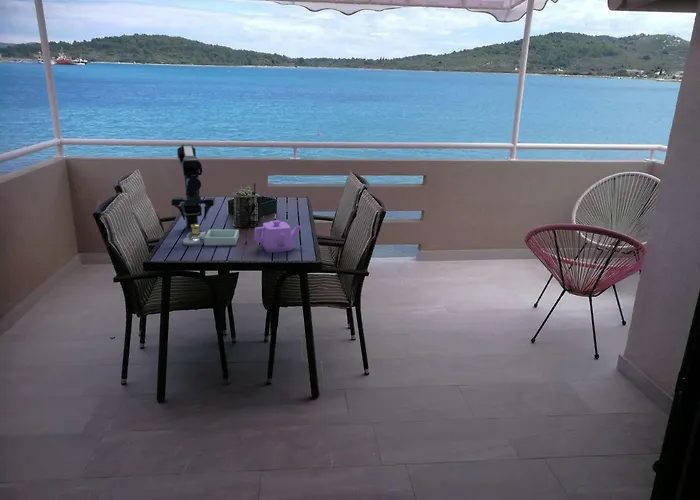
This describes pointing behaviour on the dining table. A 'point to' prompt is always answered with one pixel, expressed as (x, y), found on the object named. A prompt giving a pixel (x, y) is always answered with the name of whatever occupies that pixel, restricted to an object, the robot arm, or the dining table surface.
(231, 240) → the parts tray
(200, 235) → the tensioner bracket
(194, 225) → the pin
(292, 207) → the dining table surface
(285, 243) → the teakettle
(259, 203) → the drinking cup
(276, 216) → the dining table surface
